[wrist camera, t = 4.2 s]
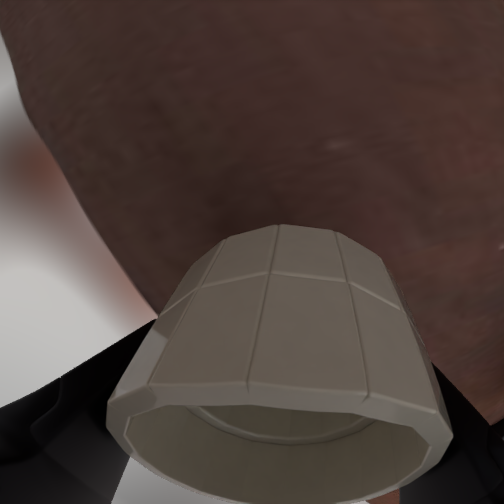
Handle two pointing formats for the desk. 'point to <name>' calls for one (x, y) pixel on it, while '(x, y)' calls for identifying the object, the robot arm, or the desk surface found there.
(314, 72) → the desk surface
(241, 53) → the desk surface
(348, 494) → the beige cup
